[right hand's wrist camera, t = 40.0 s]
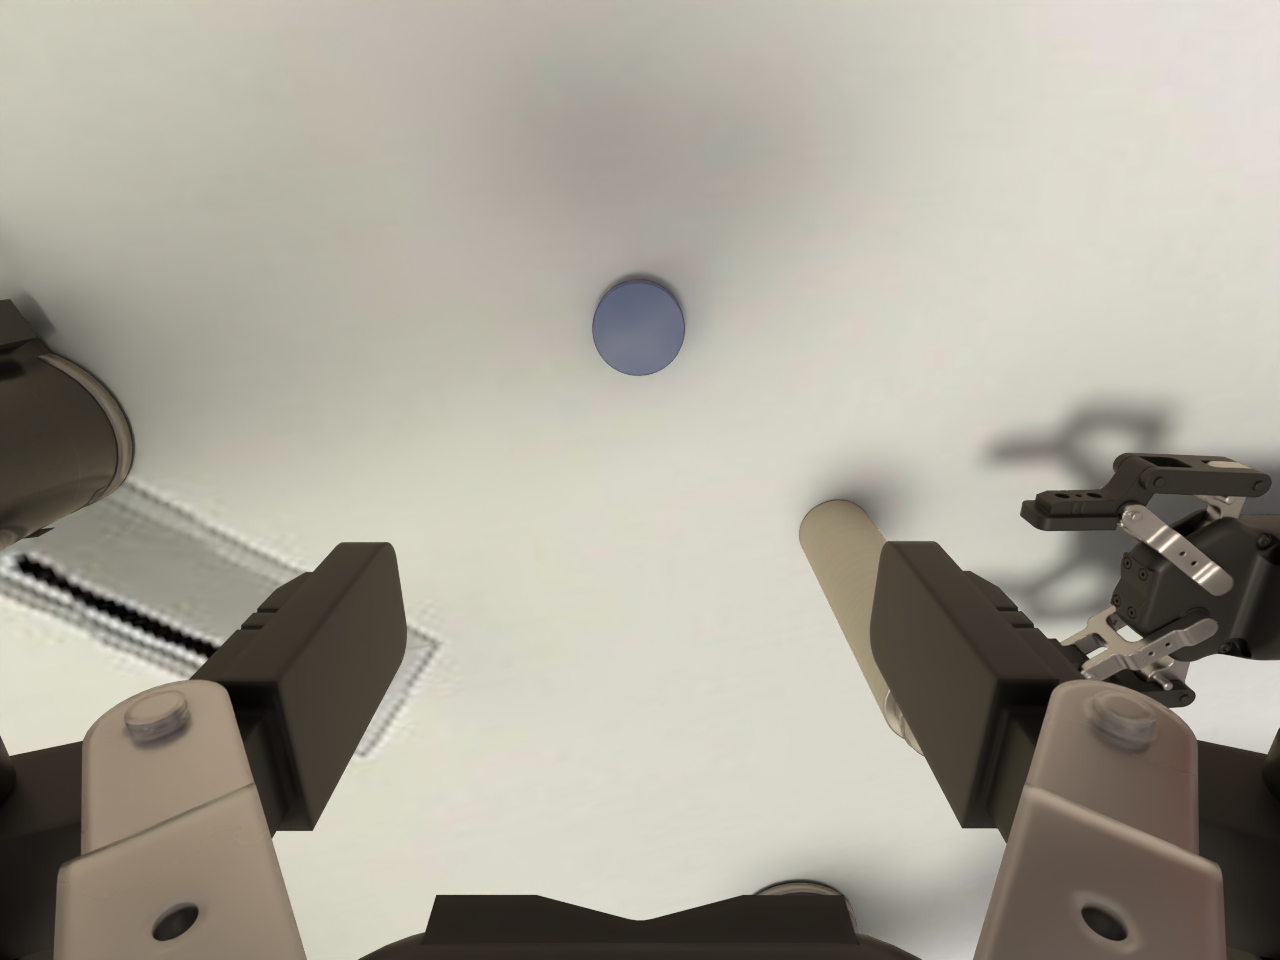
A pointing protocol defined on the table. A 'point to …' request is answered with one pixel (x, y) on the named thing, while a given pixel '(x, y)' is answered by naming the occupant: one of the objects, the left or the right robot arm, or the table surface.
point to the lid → (638, 327)
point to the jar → (852, 588)
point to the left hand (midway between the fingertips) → (1012, 589)
